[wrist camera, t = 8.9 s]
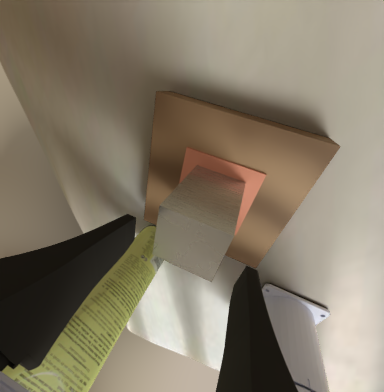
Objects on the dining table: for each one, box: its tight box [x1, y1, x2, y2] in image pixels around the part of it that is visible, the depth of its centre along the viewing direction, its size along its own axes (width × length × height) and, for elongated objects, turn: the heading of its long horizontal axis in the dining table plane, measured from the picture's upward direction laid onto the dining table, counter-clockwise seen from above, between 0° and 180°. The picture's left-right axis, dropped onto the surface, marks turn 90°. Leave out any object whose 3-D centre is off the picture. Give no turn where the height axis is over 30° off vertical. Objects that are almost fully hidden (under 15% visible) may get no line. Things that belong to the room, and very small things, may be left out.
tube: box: [2, 226, 164, 392], centre depth 19 cm, size 6×5×20 cm
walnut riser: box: [144, 91, 340, 268], centre depth 18 cm, size 14×14×3 cm
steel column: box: [152, 165, 246, 282], centre depth 14 cm, size 4×4×7 cm
